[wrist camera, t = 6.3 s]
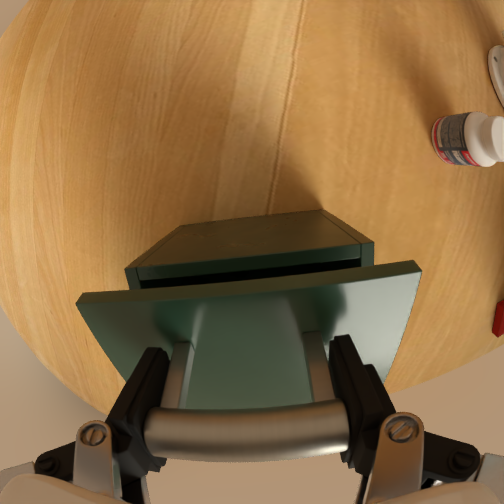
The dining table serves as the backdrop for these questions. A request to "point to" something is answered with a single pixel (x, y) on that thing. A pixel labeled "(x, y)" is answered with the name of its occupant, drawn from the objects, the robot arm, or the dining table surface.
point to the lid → (254, 357)
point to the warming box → (251, 250)
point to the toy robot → (499, 320)
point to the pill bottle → (469, 139)
